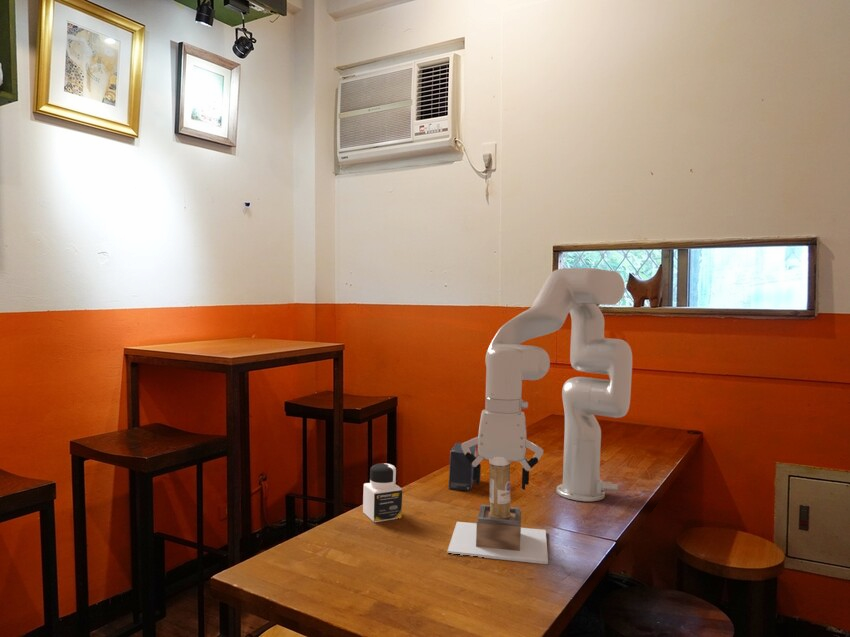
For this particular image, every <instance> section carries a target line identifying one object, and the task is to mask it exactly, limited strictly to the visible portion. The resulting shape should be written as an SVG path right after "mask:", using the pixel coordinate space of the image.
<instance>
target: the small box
mask: <svg viewBox="0 0 850 637" xmlns="http://www.w3.org/2000/svg"><path fill="white" fill-rule="evenodd" d="M462 443H463V442H455V444H454V445H453V447H452V448H451V450H450V451H449V475H448V476H449V477H448V488H447V489H448V490H459V491H465V492H466V491H471V490H472V488H473V485H474V483H475V482H476V480H473V466H472V464H471V463H470V462H469V460H468V459H467V458H466V457H465V454H464V452H463V450H462V448H461V445H462ZM469 449H470V452H471V453H472V454H473V455H474V456H475V457H476V456H477V444H476V445H474V446H471V447H469Z"/></svg>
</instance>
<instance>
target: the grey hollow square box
mask: <svg viewBox="0 0 850 637" xmlns="http://www.w3.org/2000/svg"><path fill="white" fill-rule="evenodd" d="M510 514H511V516H510V517H509V518H507V519H496V518H492V517H491V516H490V504H481V503H480V507H479V512H478V515H477V519H476V523H477V529H476V547H485V548H495V549H505V550H515V551H520V536H521V528H522V527H521V526H522V511H521V507H517V506H513V507H512V506H510Z"/></svg>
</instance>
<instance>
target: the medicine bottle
mask: <svg viewBox="0 0 850 637" xmlns="http://www.w3.org/2000/svg"><path fill="white" fill-rule="evenodd" d="M369 471H370V472H369V482H365V483H363V491H362V492H363V495H362V512H363V513H364V515H366V517H368V518H369V519H370V520H371V521H372V523H379V522H385V521H391V520H397V519H398V518H399V519H401V518H402V515H403V512H402V510H403V488H402V487H400V486H399V485H397V484H396V482H397V480H396V477H397V476H396V475H397V468H396V467H395V465H393V464H391V463H381V462H380V463H376V464H374V465H372V466H371V467H370V470H369Z"/></svg>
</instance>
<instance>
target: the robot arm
mask: <svg viewBox="0 0 850 637" xmlns="http://www.w3.org/2000/svg"><path fill="white" fill-rule="evenodd" d="M625 287H626V286H625V280H624V279H623V276H622V275H621V274H620V273H619V272H618V271H615V270H608V269H601V268H595V267H594V268H593V267H583V268H582V267H581V268H579V267H576V268H575V267H574V268H573V267H571V268H570V267H569V268H568V267H565V268H558V269H555V270H553V271H551V272H550V273H549V274H548V276H547V278H546V280H545V282H544V283H543V285H542V287H541V289H540V290H539V291H538V292H539V293H538V294H537V296H536V297H535V299H534V301H533V303H532V305H531V306H530V308H528V309H526V310H525V311H522V312H521V313H519V314H518V315H516V316H515V317H512V319H510V320H508V321H507V322H505V323H504V324H503V325H502V326H501V327H500V328H499V329H498V330H497V332H495V333H496V334H495V335H494V337H493V338H492V340H491V341H490V344H489V346H488V349H487V350H486V354H485V358H484V359H485V362H484V363H485V366H486V372H485V374H486V375H485V401H484V402H485V403H484V404H485V406H484V407H485V408H484V409H482V410H481V413H480V420H479V425H478V426H479V428H478V436H476V437H473V438H470V439H469V440H467V441H464V442H461V443H462V445H461V448H462V450H463V452H464V454H465V457H466V458H467V459H468V460H469V462H470V463H471V464H472V466H473V480H475V486H476V487H478V486H480V484H481V477H482V476H481V475H482V474H481V472H482V471H481V470H482V465H481V462H482V461H484V460H489V459H493V458H494V457H504V458H505V459H506V460H508V461H511V462H519V464H521V466H522V473H521V474H522V475H521V489H522V490H524V491H525V490H526V485H527V486H529V484H530V471H531V469H532V468H534V466H536V464H538V463H539V461H540V459H541V457H542V455H543V454H544V449H543V448H542V447H540V446H539V445H537V444H536V443H533V442H531V441H530V440H528V439H527V424H526V416H525V412H524V411H522V410H523V409H528V408H529V401H525V400H524V399H522V391H523V389H522V388H523V380H524V381H525V380H526V381H527V380H528V381H537V380H541V379H543V377H545V376H546V374H548V372H549V370H550V367H551V360H550V359H551V358H550V355H549V354H548V352H547V351H546V350H545V349H544V348H542V347H539V346H536V345H528V344H527V345H526V344H525V345H524V344H522V343H524V342H526V341H528V340H529V341H530V340H531V339H535V338H538V337H543V336H545V335H549V334H552V333H554V332H557V331H559V330H560V329H561V328H562V327H563V325H564V324H565V322H566V319H567V318H568V315H570V318H571V330H570V331H571V333H570V351H569V354H570V356H569V362H570V365H571V367H572V369H574V370H575V371H577V372H584V373H588V374H589V373H590V374H598V375H599V374H600V375H608V378H609V379H604V378H603V379H602V378H595V377H588V376H587V377H586V376H575V377H571V378H569V379H567V380H566V381H565V382H564V384H563V386H562V391H561V397H562V404H563V410H564V437H563V438H564V439H563V440H564V441H563V442H564V443H563V461H562V462H563V463H562V464H563V465H562V466H563V468H562V483H560V484H559V485H557V487H556V494H558V495H559V496H561V497H563V498H565V499H569V500H573V501H577V502H597V501H602V500H603V499H604V498H605V497H606V491H610V492H616V493H617V492H618V490H619V489H618V488H619V487H618V484H617V483H612V481H603V480H602V478H601V477H600V474H601V472H600V471H601V442H602V429H601V426H600V424H599V421H598V420H597V418H596V416H602V417H607V418H615V419H619V418H623V417H625V416H626V415H627V414H628V412H629V409H630V405H631V393H632V391H631V390H632V377H633V376H632V374H633V353H632V348H631V346H630V345H629V343H628V342H627V341H625V340H623V339H619V338H608V337H607V338H606V337H605V317H604V314H603V313H602V310H601V309H600V308H599V307H598V305H609V306H610V305H611V306H612V305H613V306H614V305H616V304H618V303H619V302H620V301H621V300H622V298H623V296H624V294H625V289H626V288H625ZM474 445H476V446H477V454H476V457H475V456H474V455H473V454H472V453H471V452H470V449H469V447H471V446H474ZM527 449H529V450H531V451H532V452H534V455H533V456H532V457H531V458H530V459H529V460H528V459H527V457H526V453H527Z"/></svg>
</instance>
